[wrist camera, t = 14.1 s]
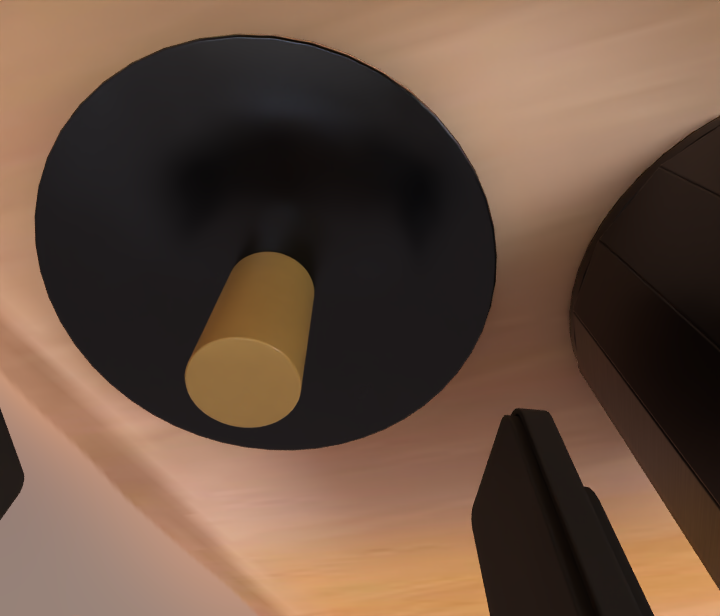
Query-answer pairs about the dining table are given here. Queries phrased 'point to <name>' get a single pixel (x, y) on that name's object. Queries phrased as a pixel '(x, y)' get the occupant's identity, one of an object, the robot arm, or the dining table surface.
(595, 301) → the tin
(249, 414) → the tin lid
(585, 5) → the dining table surface
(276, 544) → the dining table surface
